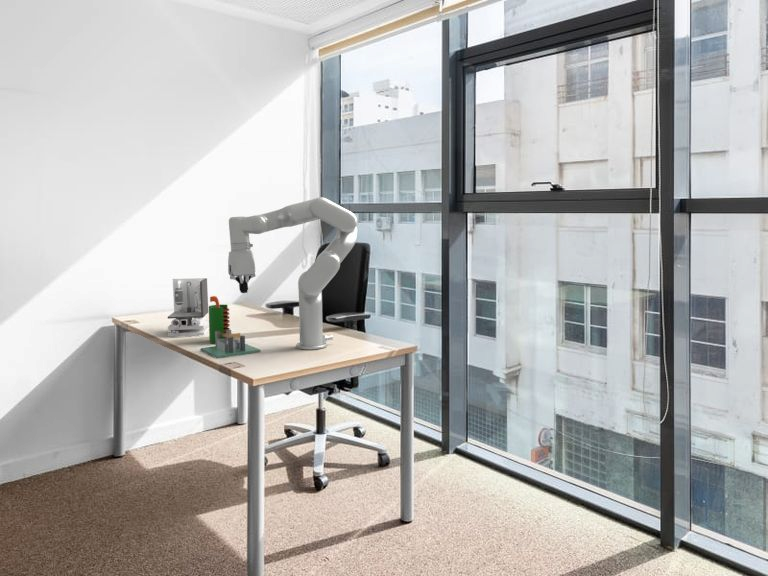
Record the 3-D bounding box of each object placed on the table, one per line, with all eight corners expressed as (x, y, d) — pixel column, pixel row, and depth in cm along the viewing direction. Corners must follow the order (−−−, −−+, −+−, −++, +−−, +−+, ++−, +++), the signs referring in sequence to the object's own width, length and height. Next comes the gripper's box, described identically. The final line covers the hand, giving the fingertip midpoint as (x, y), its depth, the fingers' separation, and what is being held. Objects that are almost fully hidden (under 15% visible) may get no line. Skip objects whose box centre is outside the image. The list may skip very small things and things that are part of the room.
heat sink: (231, 344, 254) (231, 328, 254) (243, 349, 245) (243, 333, 244) (213, 346, 250) (212, 331, 249) (224, 351, 240) (224, 335, 239)
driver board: (242, 344, 258) (241, 328, 257) (260, 352, 244) (260, 334, 243) (200, 350, 248) (200, 333, 247) (217, 358, 233) (216, 340, 232)
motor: (231, 343, 261) (229, 297, 259) (209, 344, 259) (208, 298, 256) (230, 338, 271) (228, 294, 269) (209, 340, 268) (207, 295, 266)
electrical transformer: (209, 329, 294) (206, 278, 291) (202, 337, 275) (200, 282, 272) (175, 330, 292) (173, 279, 289) (166, 338, 273) (164, 283, 270)
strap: (226, 334, 252) (226, 330, 251) (240, 337, 240) (240, 333, 240) (219, 335, 250) (219, 331, 250) (233, 338, 238) (233, 334, 238)
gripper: (253, 246, 252) (256, 289, 254) (219, 248, 243) (222, 294, 245) (261, 246, 246) (265, 291, 248) (226, 249, 237) (230, 295, 239)
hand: (244, 292), depth 247 cm, fingers closed
